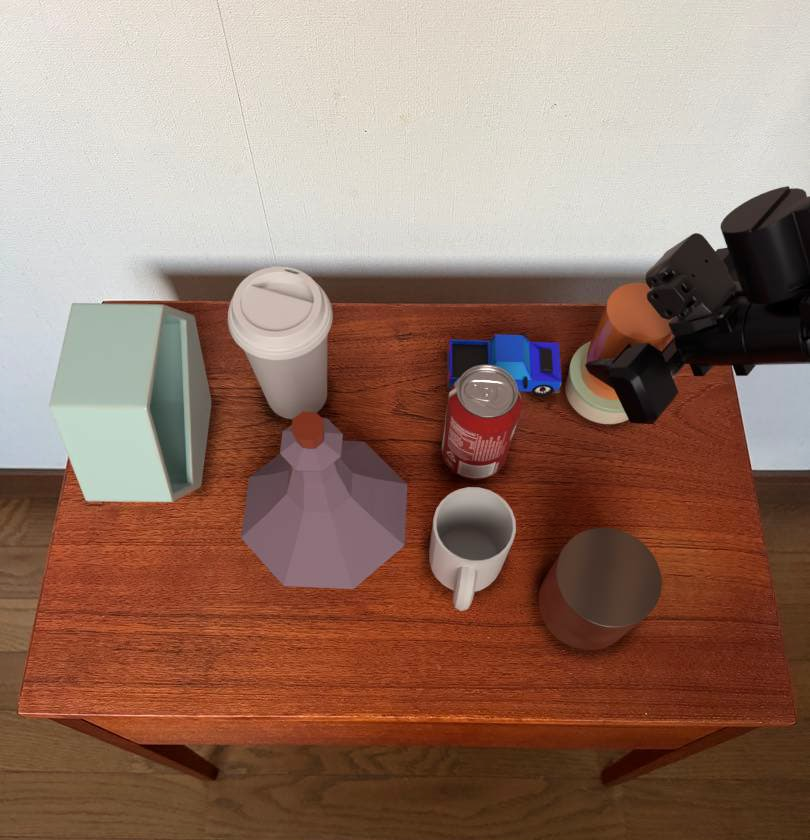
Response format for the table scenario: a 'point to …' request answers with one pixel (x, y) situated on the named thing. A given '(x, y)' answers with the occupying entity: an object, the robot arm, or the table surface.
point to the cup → (470, 541)
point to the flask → (324, 508)
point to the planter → (132, 402)
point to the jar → (590, 395)
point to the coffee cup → (284, 337)
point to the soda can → (480, 421)
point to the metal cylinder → (599, 588)
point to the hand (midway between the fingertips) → (614, 338)
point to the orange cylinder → (624, 331)
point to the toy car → (509, 361)
